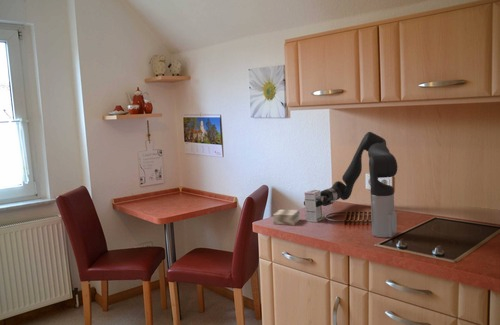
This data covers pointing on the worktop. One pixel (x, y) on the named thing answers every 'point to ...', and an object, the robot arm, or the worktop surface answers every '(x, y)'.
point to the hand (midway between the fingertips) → (310, 204)
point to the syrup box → (313, 206)
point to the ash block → (286, 217)
